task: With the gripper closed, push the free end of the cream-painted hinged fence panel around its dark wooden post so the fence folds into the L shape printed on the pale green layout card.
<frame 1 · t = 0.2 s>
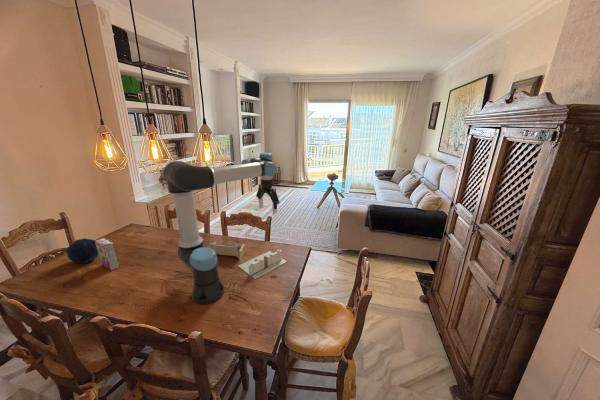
hand: (267, 210, 152), 28 cm above the table, fingers open, 13 cm apart
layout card: (263, 264, 143), on the table
fence hinged panel: (274, 257, 143), point 4 cm above the table, hinge at 0.0°
decorative orb: (87, 261, 144), on the table
candy bar box: (111, 266, 139), on the table
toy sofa: (227, 255, 152), on the table
fence fixed panel: (265, 267, 140), resting on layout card
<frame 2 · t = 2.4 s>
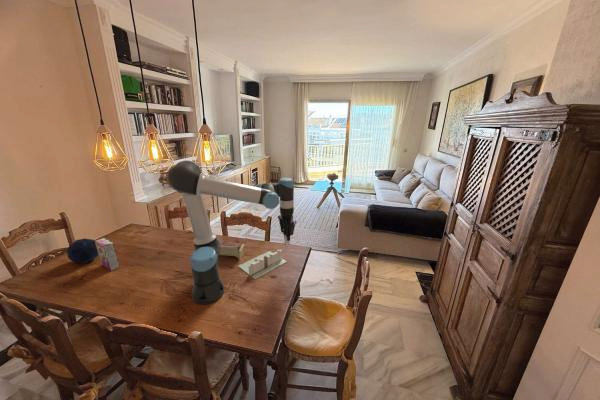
hand: (287, 244, 136), 15 cm above the table, fingers closed
nothing on the table moved.
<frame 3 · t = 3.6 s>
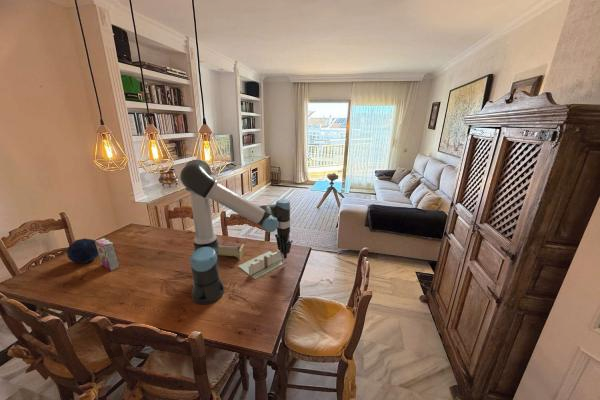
hand: (283, 262, 141), 3 cm above the table, fingers closed
nothing on the table moved.
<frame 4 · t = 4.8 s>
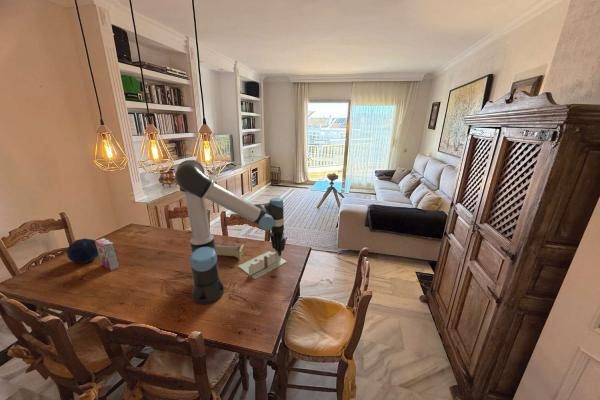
hand: (278, 259, 144), 3 cm above the table, fingers closed
fence hinged panel: (274, 256, 144), point 4 cm above the table, hinge at 4.0°, touching gripper
everything else where it was.
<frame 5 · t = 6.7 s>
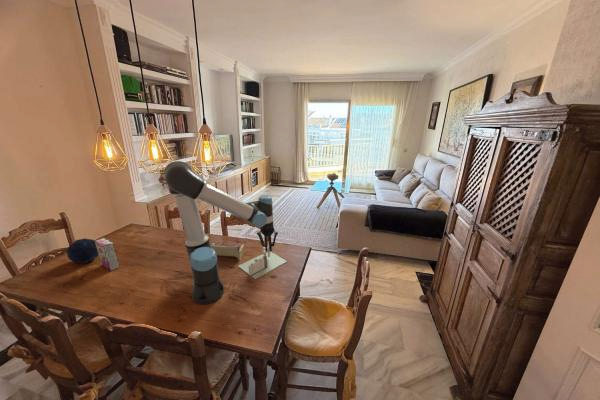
hand: (269, 255, 147), 3 cm above the table, fingers closed
fence hinged panel: (264, 255, 145), point 4 cm above the table, hinge at 55.2°, touching gripper
everything else where it was.
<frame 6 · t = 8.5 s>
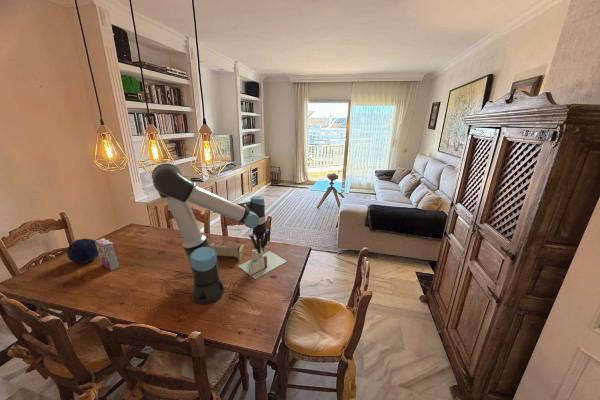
hand: (261, 256, 146), 3 cm above the table, fingers closed
fence hinged panel: (258, 257, 143), point 4 cm above the table, hinge at 91.2°, touching gripper
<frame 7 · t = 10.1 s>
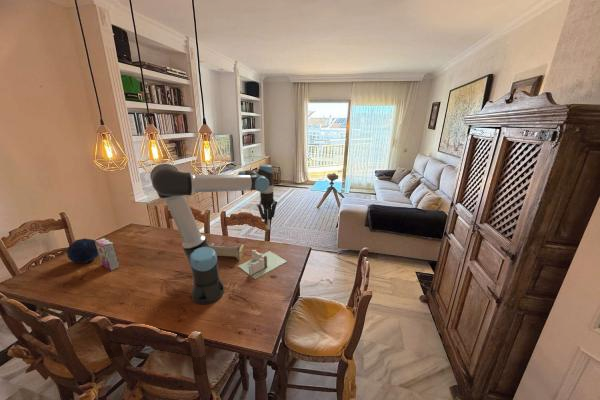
hand: (267, 228, 143), 20 cm above the table, fingers closed
fence hinged panel: (258, 257, 143), point 4 cm above the table, hinge at 91.2°
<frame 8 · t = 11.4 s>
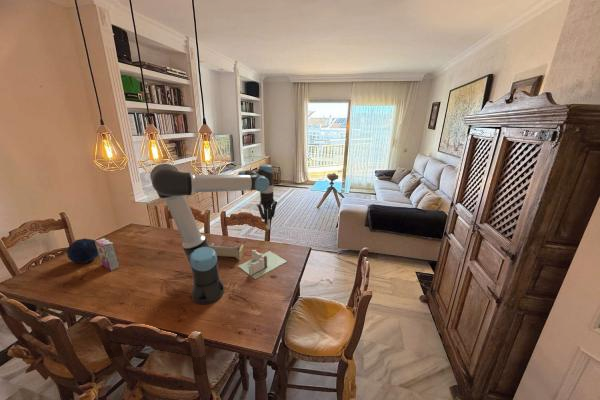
hand: (267, 228, 143), 20 cm above the table, fingers closed
at the end: fence hinged panel at +91° (first picture: +0°) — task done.
